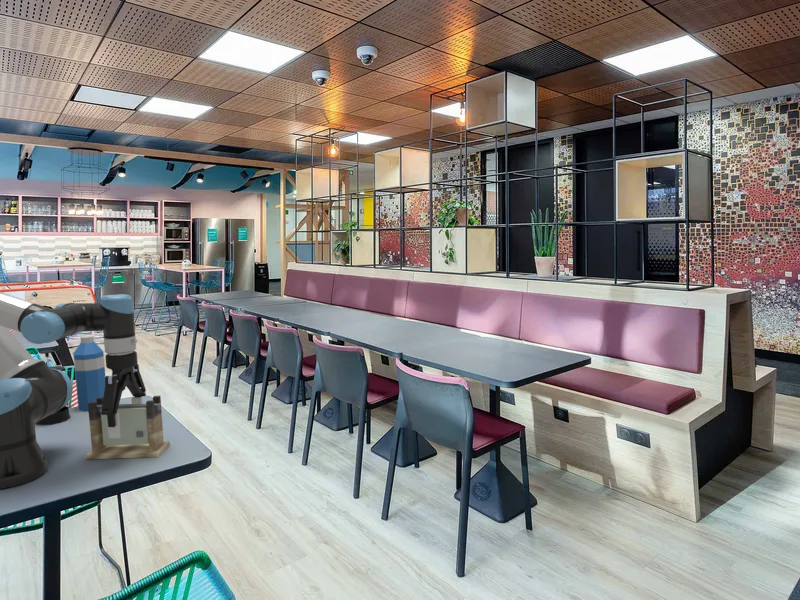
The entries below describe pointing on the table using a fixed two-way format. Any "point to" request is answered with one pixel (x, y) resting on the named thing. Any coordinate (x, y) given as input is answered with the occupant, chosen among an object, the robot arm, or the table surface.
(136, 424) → the hanging file folder
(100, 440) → the hinge frame
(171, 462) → the table surface
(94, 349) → the water bottle
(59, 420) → the french press
